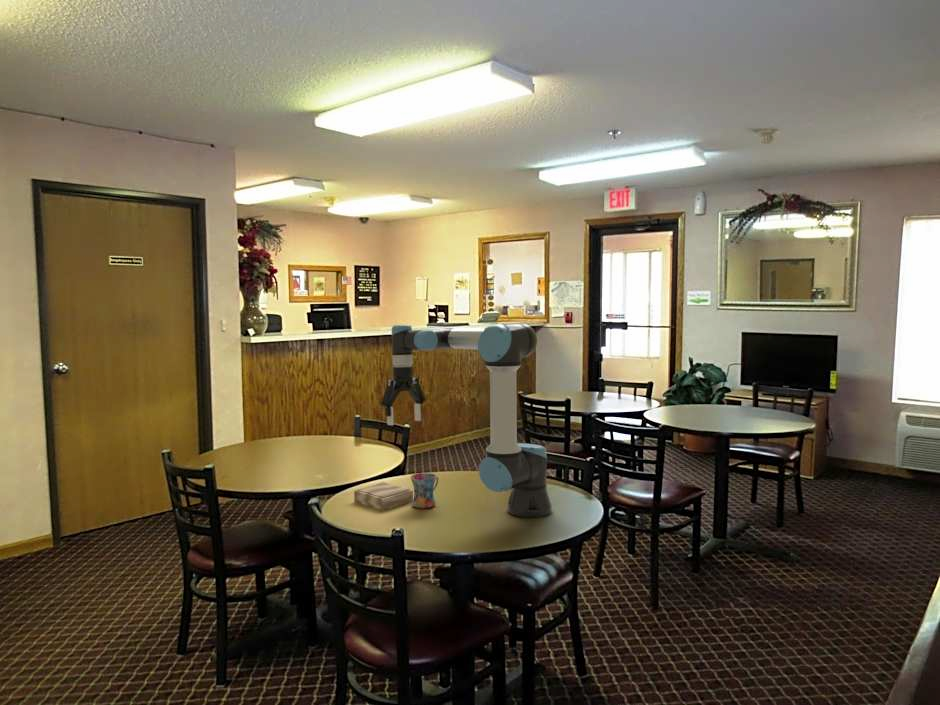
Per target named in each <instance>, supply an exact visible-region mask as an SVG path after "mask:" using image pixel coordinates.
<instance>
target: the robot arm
mask: <svg viewBox="0 0 940 705" xmlns="http://www.w3.org/2000/svg"><path fill="white" fill-rule="evenodd" d="M412 327H413V326H412V325H410V324H399V325H398V324H397V325H393V326H392V327H391V350H392V351H391V353H392V355H391V356H392V366H393V367H392V377H393V379H392V380H391V379H387V381H386V388H385V391H384V394H383V396H382V399H381V403H380V406H381V407H384V408H385V416H386V418H387V419H386V425H388V426H394V425H395V422H394V419H395V418H394V407H392V406H393V405H394V402H395V401H396V399H397V397H399V394H400V393H401V392H408V394H409V395H410V397H412V399H413V401H414V402H415V403H413V407H414V408H413V411H414V421H416V422H421V421H422V418H421V417H422V413H421V412H422V404H424V402H426V396H425V394H424V392H423V390H422V387H421V385H420V380H419V377H413V376H414V368H413V365H414V360H413V359H414V358H413V351H423V352H426V351H428V352H429V351H433V350H442V349H443V350H444V349H446V350H447V349H452V350H453V349H454V350H456V349H457V350H477V352H478V353H479V355H480V357H481V359H483V360H484V366H485V367H486V368H487V370H489V402H490V403H489V408H490V409H489V414H490V415H489V420H490V421H489V423H490V424H489V425H490V432H489V433H490V437H489V438H490V439H489V440H490V444H489V445H488V446H487V447H486V449H485V458H483V459H482V460H481V462H480V463H479V467H478V475H479V478H480V480H481V482H482V484H483V485H484V486H485V487H486V488H487V490H489V491H491V492H494V493H502V492H508V491H510V490H511V492H510V496H509V498H508V501H507V512H508V513H509V514H511V515H513V516H514V517H515V516H516V517H521V518H533V519H534V518H542V517H546V516H548V515H551V513H552V512H553V511H552V510H553V509H552V503H551V499H550V496H549V493H548V490H547V471H548V470H547V464H548V463H547V461H548V456H547V449H546V447H544V446H543V445H539V444H533V443H524V442H523V443H522V442H521V443H519V442H518V441H517V440H518V435H517V434H518V433H517V430H518V429H517V428H518V426H517V425H518V424H517V419H518V418H517V417H518V416H517V414H518V413H517V411H518V410H517V405H518V404H517V403H518V402H517V399H518V398H517V371H518V370H519V368H521V366H522V359H523V358H524V359H525V358H527V357H529V356H530V355H531V354H533V353H534V351H535V350H536V348H537V345H538V336H537V333H536V331H535V330H534V328H533V327H531V326H529V324H526V323H523V322H518V323H497V324H492V325H488V326H487V327H485V328H454V327H453V328H452V327H446V328H434V329H433V328H432V329H429V328H428V329H427V328H426V329H424V328H422V329H414V330H413V328H412ZM412 377H413V378H412Z"/></svg>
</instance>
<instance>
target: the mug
mask: <svg viewBox="0 0 940 705" xmlns="http://www.w3.org/2000/svg"><path fill="white" fill-rule="evenodd" d="M409 478H410V480H411V483H412V486H413V501H411V506H413V507H415V508H419V509H428V508H432V507H435V505H436V504H437V502H436V499H435V497H434V491H436V490H435V489H436V488H437V487H438V483H439V478H438V476H437V475H436V474H434V473H429V472H420V473H413V475H410V477H409Z"/></svg>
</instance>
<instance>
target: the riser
mask: <svg viewBox="0 0 940 705" xmlns="http://www.w3.org/2000/svg"><path fill="white" fill-rule="evenodd" d="M353 491H354V492H353V493H354V494H353V495H354V496H353V498H354V499H353V500H354V502H355V503H358V504H360V505H361V504H362V505H364V506H369V507H370V508H374V509H378V510H381V511H387V510H389V509H392V508H393V509H394V508H395V507H399V506H401V505H404V504H408V503H412V502H413V499H414V489H410V488H406V487H402V486H398V485H395V484H391V483H387V482H384V481H383V482H380V483H376V484H373V485H370V486H366V487H363V488H359V489H355V490H353Z"/></svg>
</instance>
